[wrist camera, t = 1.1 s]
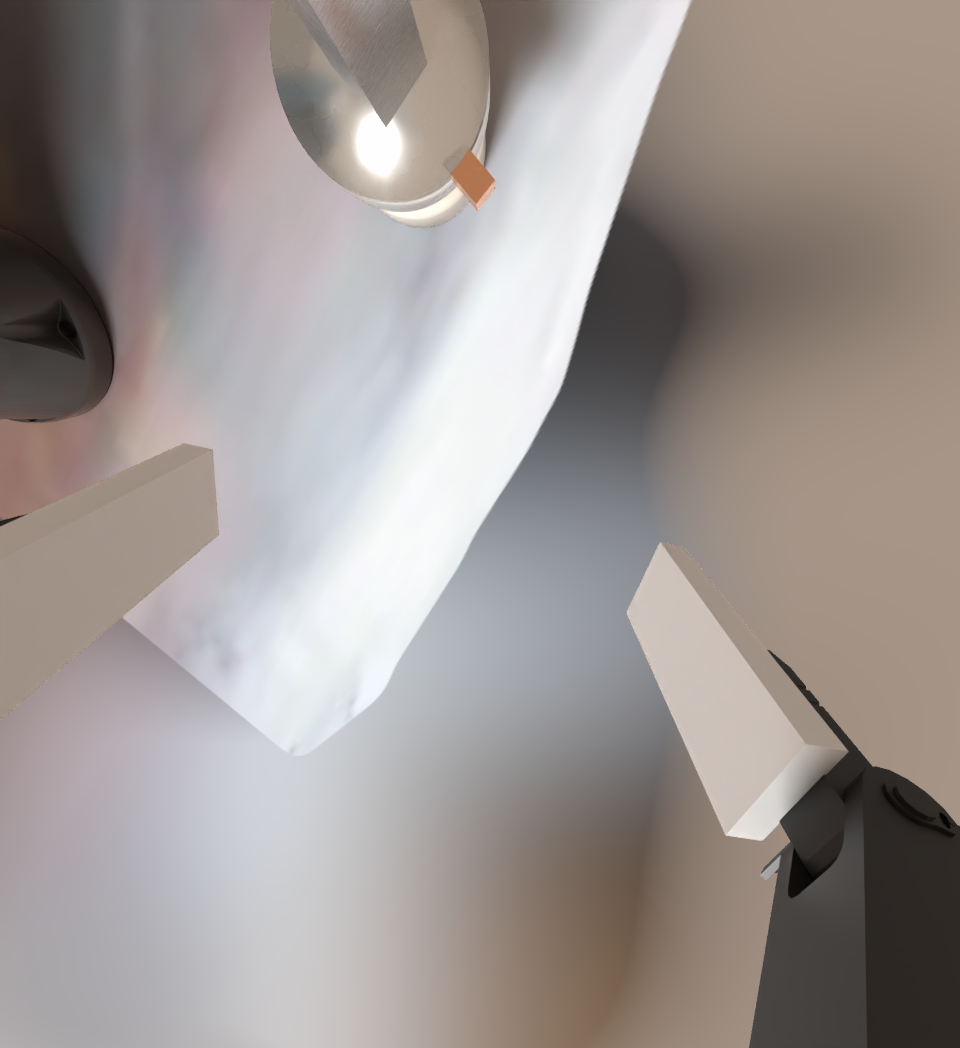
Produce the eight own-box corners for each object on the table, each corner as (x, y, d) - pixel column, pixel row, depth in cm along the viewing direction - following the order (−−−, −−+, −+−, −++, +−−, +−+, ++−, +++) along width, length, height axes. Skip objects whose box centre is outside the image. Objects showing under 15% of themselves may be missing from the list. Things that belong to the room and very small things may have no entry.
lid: (260, 99, 23) (-15, -145, 11) (376, -121, 20) (167, -875, 7) (428, 278, 27) (370, 251, 14) (553, 119, 23) (620, -101, 11)
